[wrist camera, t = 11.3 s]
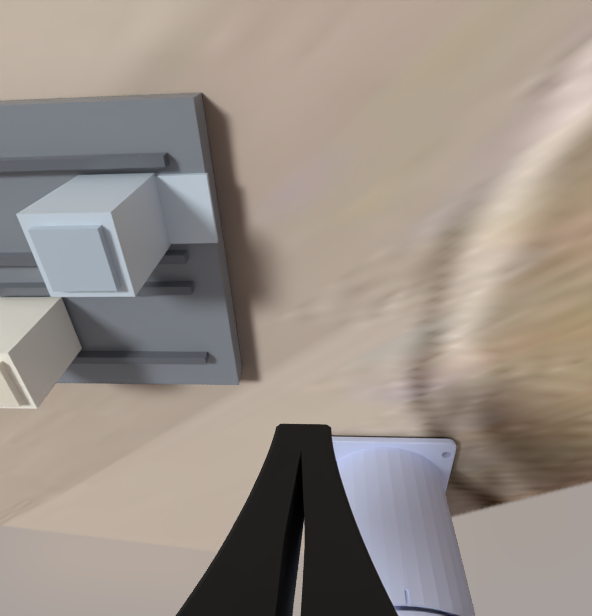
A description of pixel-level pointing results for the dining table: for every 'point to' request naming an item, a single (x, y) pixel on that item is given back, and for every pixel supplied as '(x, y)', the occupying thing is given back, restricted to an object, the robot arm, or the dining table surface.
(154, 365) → the switch panel
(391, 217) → the dining table surface
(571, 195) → the dining table surface
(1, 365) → the cream switch
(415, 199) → the dining table surface
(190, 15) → the dining table surface
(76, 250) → the grey switch
